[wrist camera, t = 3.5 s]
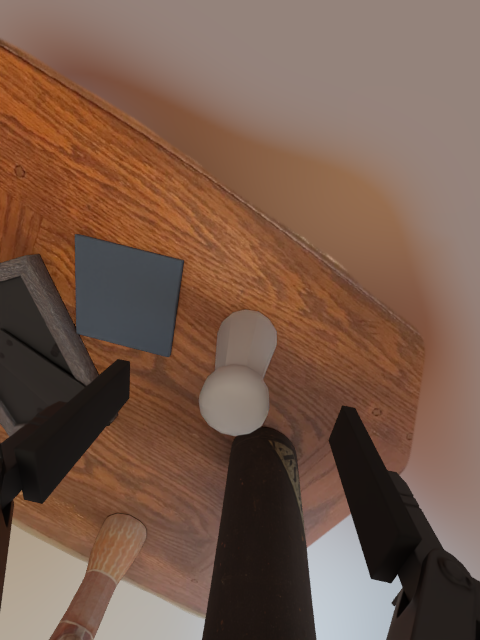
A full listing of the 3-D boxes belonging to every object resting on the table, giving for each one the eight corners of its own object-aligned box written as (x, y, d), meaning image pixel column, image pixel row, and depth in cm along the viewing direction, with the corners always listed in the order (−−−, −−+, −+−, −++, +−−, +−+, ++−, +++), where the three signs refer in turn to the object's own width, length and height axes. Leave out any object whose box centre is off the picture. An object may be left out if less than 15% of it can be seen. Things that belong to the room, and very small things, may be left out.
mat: (184, 260, 24) (182, 260, 24) (170, 355, 28) (168, 357, 28) (78, 234, 25) (74, 234, 24) (79, 331, 28) (76, 333, 28)
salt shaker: (251, 291, 25) (235, 349, 12) (287, 332, 26) (305, 421, 13) (211, 326, 26) (162, 407, 14) (246, 363, 27) (229, 467, 15)
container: (280, 485, 33) (296, 812, 14) (219, 460, 33) (155, 762, 14) (311, 441, 30) (381, 785, 11) (244, 414, 30) (203, 720, 11)
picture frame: (118, 414, 32) (39, 254, 26) (109, 425, 30) (21, 255, 24) (20, 428, 35) (-73, 287, 29) (6, 439, 33) (-96, 291, 27)
